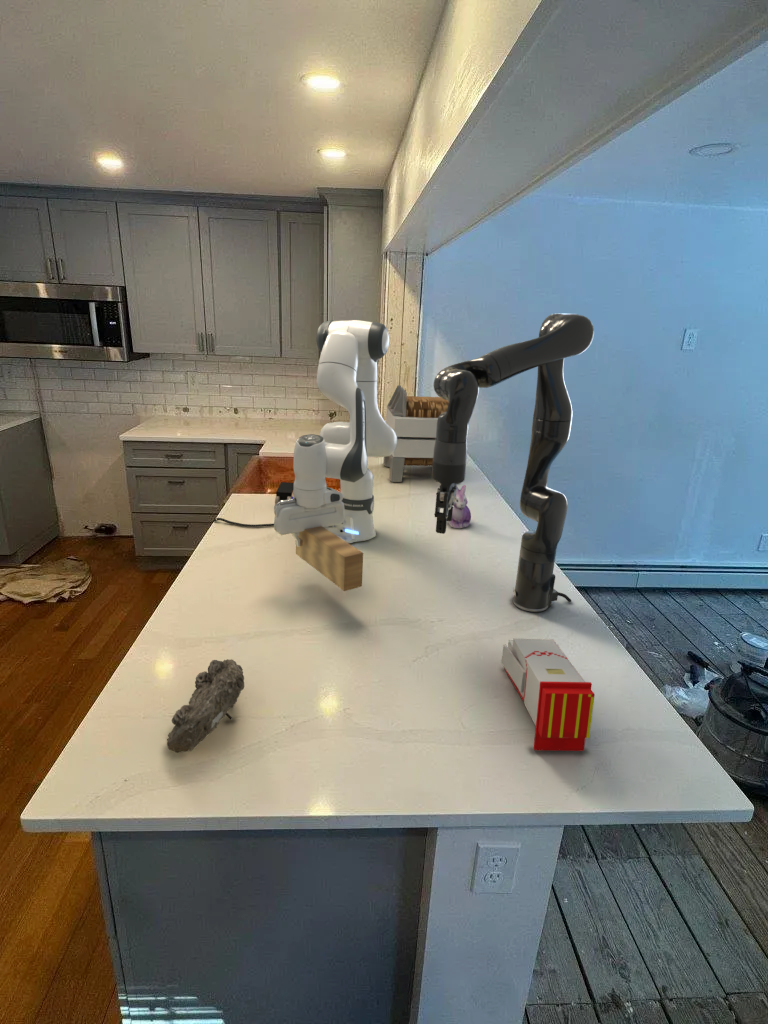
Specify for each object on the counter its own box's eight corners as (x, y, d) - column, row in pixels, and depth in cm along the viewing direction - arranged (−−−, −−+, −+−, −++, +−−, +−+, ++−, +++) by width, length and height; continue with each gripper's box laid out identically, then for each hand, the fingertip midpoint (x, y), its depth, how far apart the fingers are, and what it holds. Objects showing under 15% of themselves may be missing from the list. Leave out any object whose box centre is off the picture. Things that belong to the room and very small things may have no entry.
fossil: (192, 660, 117) (244, 628, 112) (224, 691, 120) (276, 661, 115) (142, 746, 98) (202, 712, 93) (182, 779, 101) (242, 748, 96)
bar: (295, 553, 160) (295, 523, 157) (312, 550, 163) (312, 520, 160) (344, 591, 140) (344, 557, 137) (362, 586, 143) (363, 552, 140)
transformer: (382, 463, 289) (386, 382, 275) (445, 464, 293) (451, 384, 279) (390, 482, 257) (394, 392, 243) (460, 483, 261) (468, 394, 247)
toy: (549, 621, 128) (604, 690, 99) (544, 676, 131) (595, 758, 101) (496, 620, 128) (535, 688, 98) (492, 675, 130) (528, 757, 101)
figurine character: (292, 514, 217) (296, 498, 230) (291, 496, 214) (296, 480, 227) (274, 514, 217) (280, 497, 230) (273, 496, 213) (279, 480, 227)
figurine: (456, 530, 205) (460, 491, 199) (441, 521, 213) (444, 483, 208) (477, 527, 209) (481, 488, 204) (461, 518, 217) (465, 480, 212)
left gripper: (279, 505, 145) (280, 554, 149) (348, 493, 156) (347, 540, 160) (269, 498, 149) (270, 546, 154) (336, 487, 161) (335, 533, 165)
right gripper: (461, 469, 120) (455, 539, 126) (470, 454, 133) (464, 518, 139) (426, 465, 122) (421, 535, 128) (439, 450, 135) (434, 514, 141)
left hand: (310, 543), depth 157 cm, fingers closed on bar, 5 cm apart
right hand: (444, 526), depth 133 cm, fingers open, 8 cm apart
